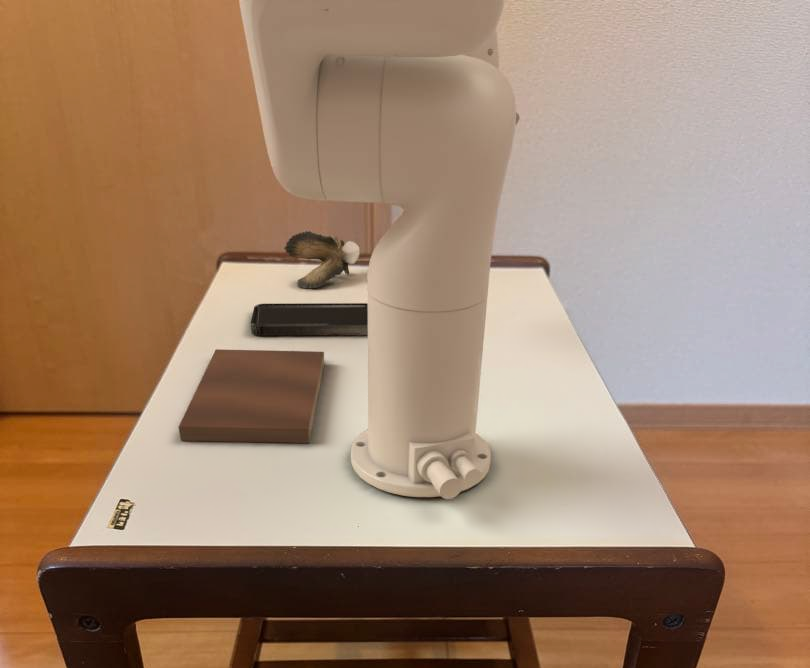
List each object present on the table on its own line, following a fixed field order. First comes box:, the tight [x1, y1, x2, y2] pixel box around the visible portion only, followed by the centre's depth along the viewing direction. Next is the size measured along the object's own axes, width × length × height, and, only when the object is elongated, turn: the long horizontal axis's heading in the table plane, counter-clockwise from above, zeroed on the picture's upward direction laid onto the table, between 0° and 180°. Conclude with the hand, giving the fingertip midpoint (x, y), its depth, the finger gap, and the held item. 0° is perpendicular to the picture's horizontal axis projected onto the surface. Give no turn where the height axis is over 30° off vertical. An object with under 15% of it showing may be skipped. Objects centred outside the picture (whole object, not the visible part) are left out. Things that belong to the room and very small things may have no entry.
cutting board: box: [178, 348, 325, 444], centre depth 80 cm, size 18×12×2 cm, turn 0°
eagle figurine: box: [283, 230, 361, 289], centre depth 110 cm, size 8×7×9 cm
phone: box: [250, 302, 368, 336], centre depth 97 cm, size 8×1×15 cm
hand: (441, 197), depth 88 cm, fingers closed on mushroom, 8 cm apart
